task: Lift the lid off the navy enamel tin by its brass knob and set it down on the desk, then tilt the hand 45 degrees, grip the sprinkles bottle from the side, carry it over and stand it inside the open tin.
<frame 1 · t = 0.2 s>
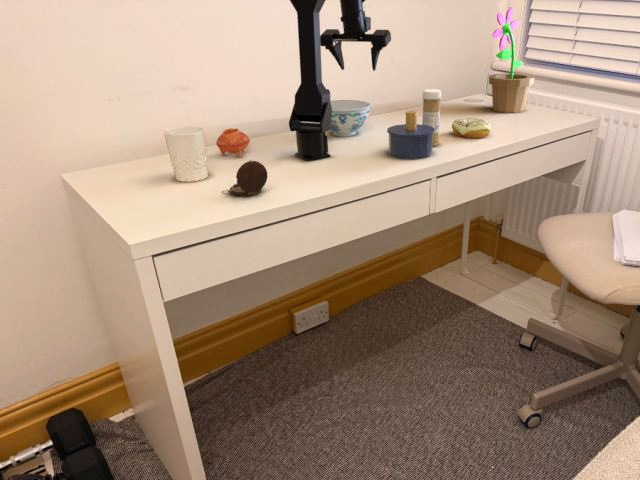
hand: (358, 69, 155), 15 cm above the table, tool pointing down, fingers open, 9 cm apart
pot: (235, 155, 135), on the table
flowerpot: (508, 110, 182), on the table
tin lid: (410, 131, 133), point 5 cm above the table, touching tin
chinaware: (344, 134, 154), on the table
tin: (410, 153, 135), on the table
decorated donut: (470, 135, 152), on the table
compass: (243, 195, 110), on the table
sprinkles bottle: (430, 145, 143), on the table
white cup: (192, 178, 120), on the table
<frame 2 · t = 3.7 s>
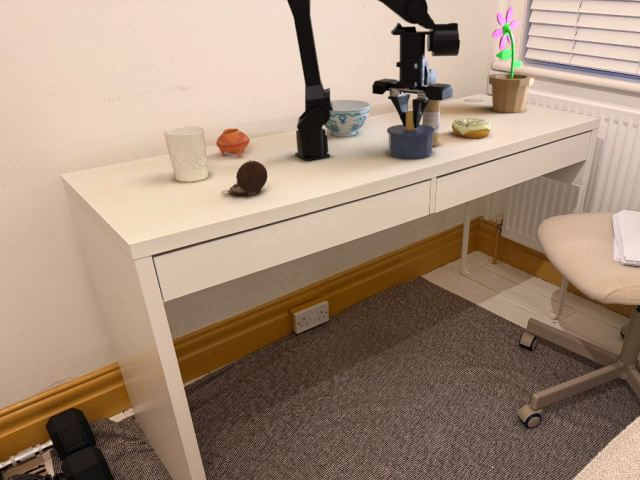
hand: (411, 127, 132), 6 cm above the table, tool pointing down, fingers closed on tin lid, 3 cm apart
tin lid: (410, 131, 133), point 5 cm above the table, touching gripper, tin
everything else where it was.
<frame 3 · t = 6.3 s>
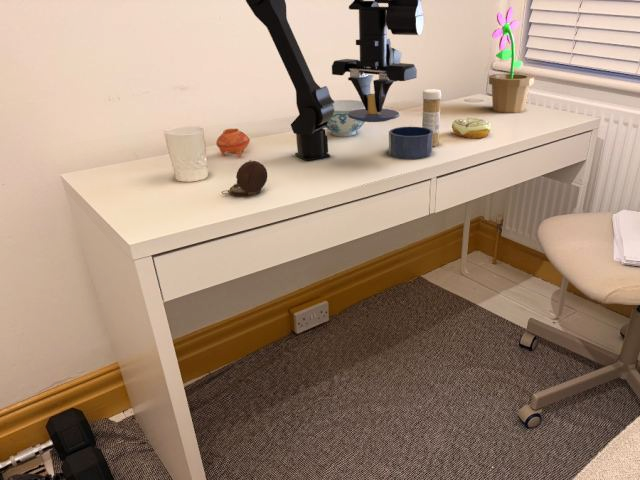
hand: (373, 111, 123), 12 cm above the table, tool pointing down, fingers closed on tin lid, 3 cm apart
tin lid: (373, 115, 124), point 11 cm above the table, touching gripper
everything else where it was.
when the fingers open (2 cm above the table, at t = 8.7 s): tin lid stays where it is, point 1 cm above the table.
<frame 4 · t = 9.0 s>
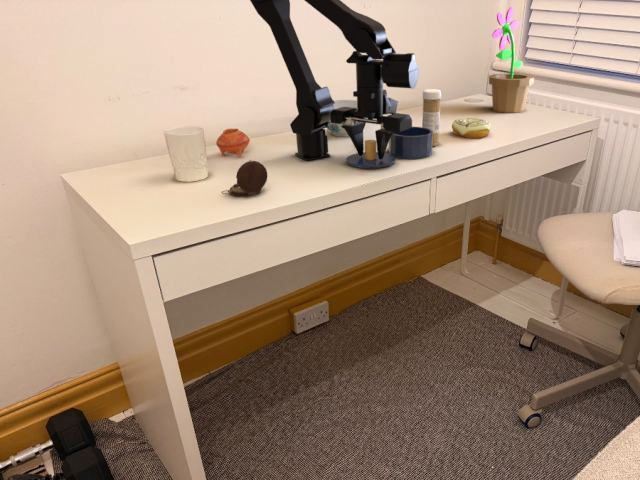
hand: (371, 157, 128), 1 cm above the table, tool pointing down, fingers open, 5 cm apart
tin lid: (370, 160, 128), point 1 cm above the table
everything else where it was.
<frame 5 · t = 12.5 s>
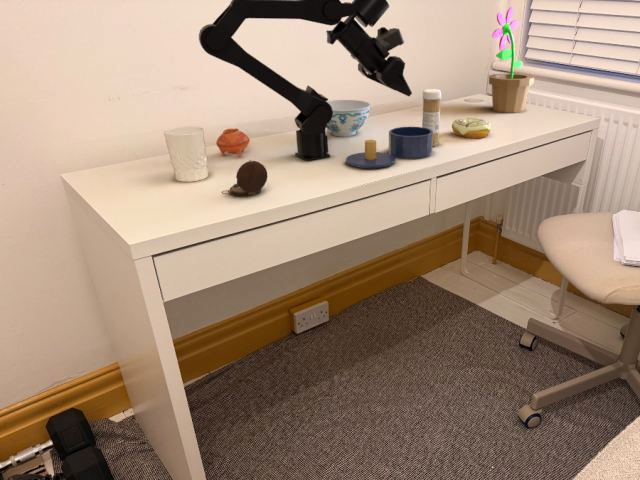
hand: (403, 91, 134), 14 cm above the table, tool tilted 45°, fingers open, 9 cm apart
nothing on the table moved.
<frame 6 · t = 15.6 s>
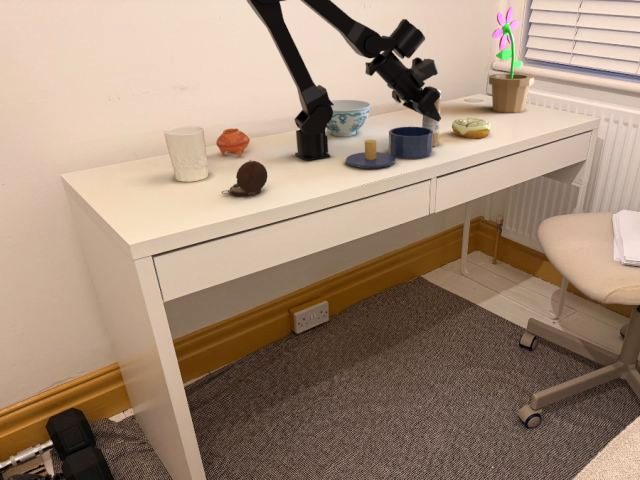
hand: (436, 118, 140), 7 cm above the table, tool tilted 45°, fingers closed on sprinkles bottle, 4 cm apart
sprinkles bottle: (430, 145, 143), on the table, touching gripper
everything else where it was.
when the fingers open (7 cm above the table, at t = 21.3 s): sprinkles bottle stays where it is, resting on tin.
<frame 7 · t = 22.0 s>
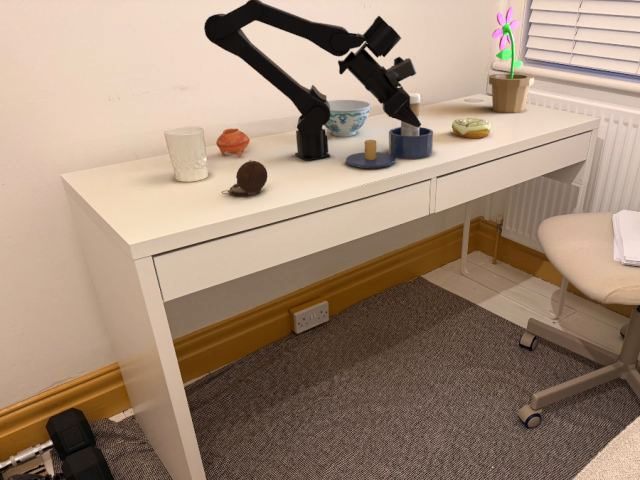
hand: (417, 121, 132), 8 cm above the table, tool tilted 45°, fingers open, 9 cm apart
sprinkles bottle: (409, 152, 135), resting on tin
everything else where it was.
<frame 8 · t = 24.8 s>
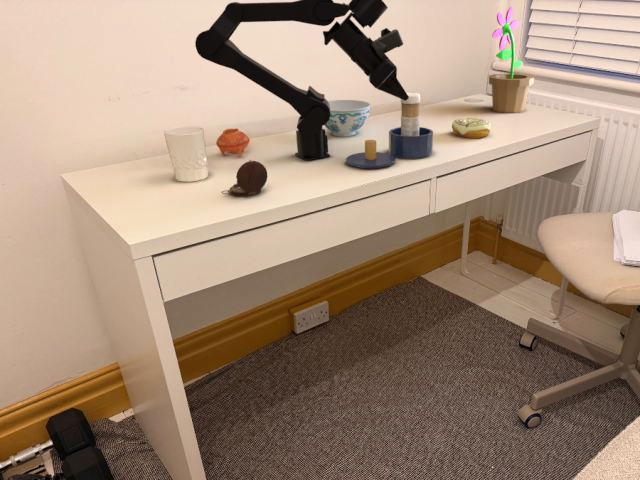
hand: (404, 95, 129), 14 cm above the table, tool tilted 45°, fingers open, 9 cm apart
nothing on the table moved.
at the end: tin lid point 0.6 cm above the table; sprinkles bottle 0.2 cm off-centre in the tin, point 0.3 cm above the tin's base; sprinkles bottle tilted 0° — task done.
